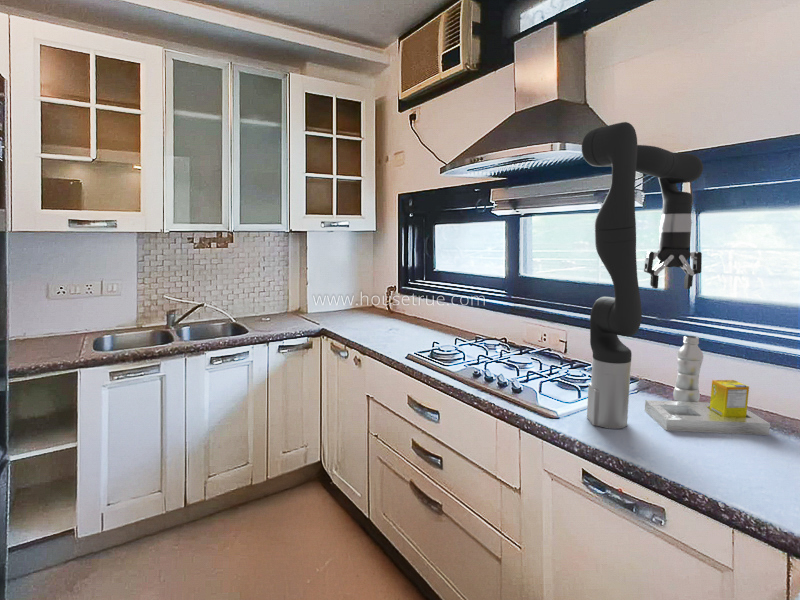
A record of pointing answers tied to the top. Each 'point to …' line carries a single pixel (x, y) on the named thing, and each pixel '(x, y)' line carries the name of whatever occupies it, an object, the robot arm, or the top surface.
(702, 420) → the rail plate
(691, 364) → the plastic bottle
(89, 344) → the top surface
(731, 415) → the supplement box
